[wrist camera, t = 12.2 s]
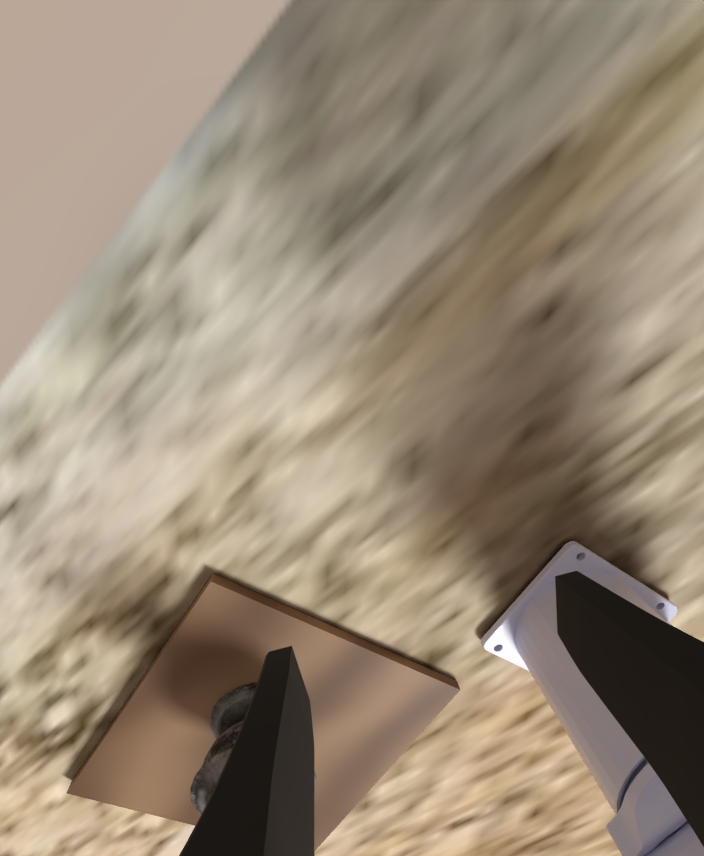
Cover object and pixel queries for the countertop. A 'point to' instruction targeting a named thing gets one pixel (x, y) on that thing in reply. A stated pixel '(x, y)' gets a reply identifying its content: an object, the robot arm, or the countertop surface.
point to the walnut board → (241, 664)
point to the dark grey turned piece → (222, 742)
